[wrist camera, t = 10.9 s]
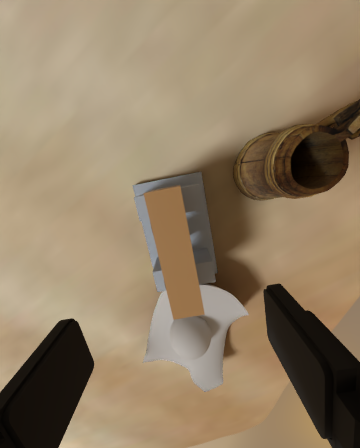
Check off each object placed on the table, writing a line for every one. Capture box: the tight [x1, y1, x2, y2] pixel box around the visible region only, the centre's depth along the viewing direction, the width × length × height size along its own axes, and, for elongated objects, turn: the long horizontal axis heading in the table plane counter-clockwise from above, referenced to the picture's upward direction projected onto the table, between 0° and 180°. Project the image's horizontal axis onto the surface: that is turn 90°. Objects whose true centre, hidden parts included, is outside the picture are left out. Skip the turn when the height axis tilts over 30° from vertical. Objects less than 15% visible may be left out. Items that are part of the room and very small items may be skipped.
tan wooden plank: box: [143, 185, 205, 320], centre depth 21 cm, size 14×4×5 cm, turn 11°
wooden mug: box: [233, 100, 360, 201], centre depth 18 cm, size 9×14×18 cm, turn 140°
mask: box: [143, 284, 249, 392], centre depth 30 cm, size 20×8×15 cm
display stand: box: [133, 172, 218, 292], centre depth 27 cm, size 16×10×6 cm, turn 11°
